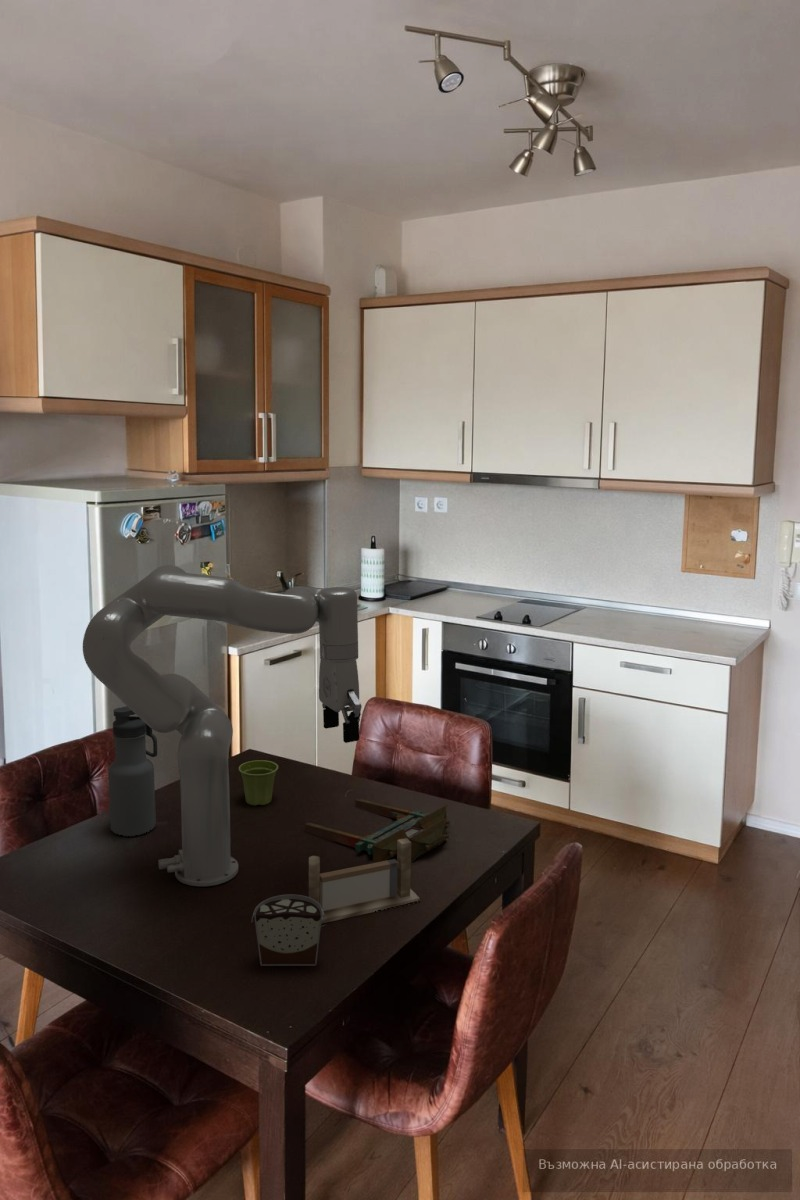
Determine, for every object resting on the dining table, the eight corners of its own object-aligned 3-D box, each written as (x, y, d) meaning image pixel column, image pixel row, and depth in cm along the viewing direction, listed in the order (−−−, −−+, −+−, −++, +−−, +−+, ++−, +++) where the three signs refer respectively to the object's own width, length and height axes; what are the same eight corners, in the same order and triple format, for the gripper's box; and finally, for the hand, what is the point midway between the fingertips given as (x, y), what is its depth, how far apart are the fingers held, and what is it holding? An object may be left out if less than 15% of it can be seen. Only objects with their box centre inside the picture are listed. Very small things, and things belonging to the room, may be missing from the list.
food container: (326, 945, 161) (327, 892, 160) (325, 965, 155) (325, 911, 153) (256, 945, 161) (255, 892, 159) (251, 965, 155) (251, 911, 153)
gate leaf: (321, 911, 170) (321, 877, 169) (318, 907, 171) (318, 873, 170) (397, 895, 176) (398, 862, 175) (394, 891, 178) (394, 858, 177)
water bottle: (143, 815, 213) (139, 698, 208) (165, 828, 207) (162, 708, 202) (102, 828, 206) (97, 707, 201) (124, 842, 200) (119, 718, 194)
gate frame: (297, 928, 166) (297, 868, 164) (289, 915, 171) (289, 856, 169) (419, 901, 177) (420, 844, 175) (408, 890, 181) (409, 833, 179)
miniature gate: (368, 786, 224) (472, 810, 206) (369, 808, 225) (473, 833, 207) (291, 822, 203) (400, 852, 185) (293, 846, 204) (401, 878, 186)
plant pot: (286, 799, 224) (286, 765, 223) (260, 812, 216) (260, 777, 215) (256, 790, 229) (256, 757, 227) (230, 803, 221) (230, 768, 220)
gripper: (304, 644, 186) (307, 725, 189) (339, 662, 171) (341, 750, 174) (338, 639, 190) (340, 719, 193) (375, 657, 175) (377, 743, 178)
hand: (341, 734), depth 184 cm, fingers open, 9 cm apart
